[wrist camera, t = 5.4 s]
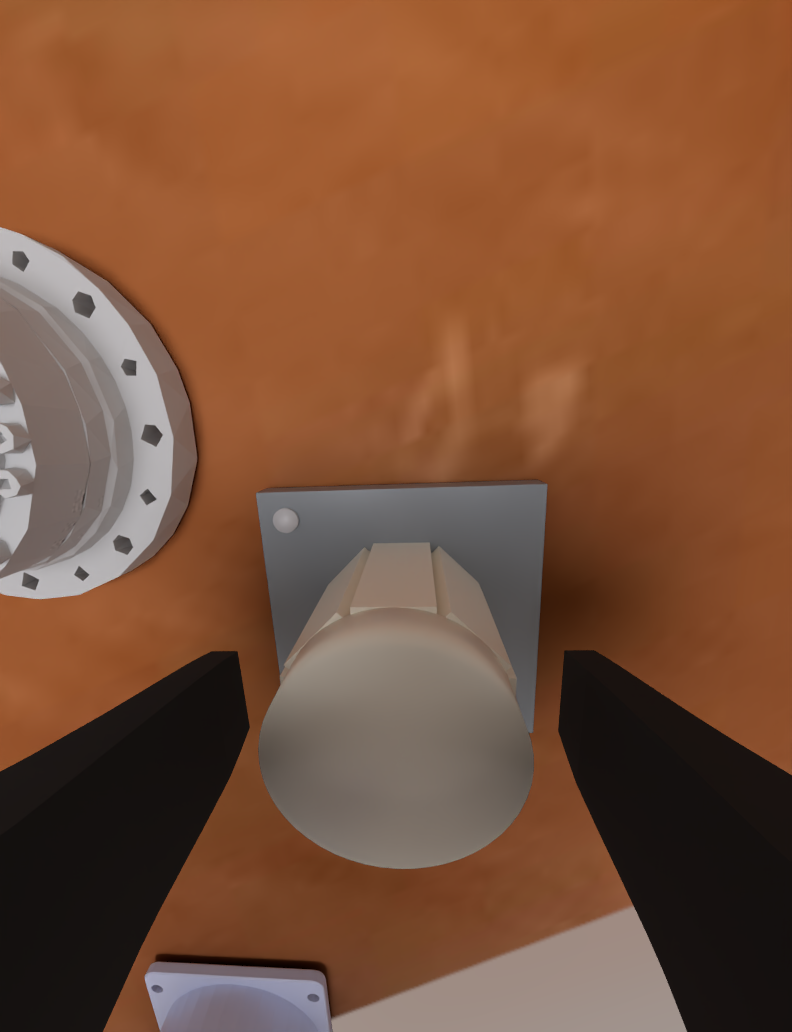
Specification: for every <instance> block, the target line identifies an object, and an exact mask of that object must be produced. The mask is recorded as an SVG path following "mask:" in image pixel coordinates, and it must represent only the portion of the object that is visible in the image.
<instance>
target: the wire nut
mask: <svg viewBox="0 0 792 1032" xmlns="http://www.w3.org/2000/svg"><path fill="white" fill-rule="evenodd" d="M284 666H285V668H284V670H283V671H282V673H281V675H280V684H281V685H280V687H279V689H278V691H277V693H276V695H275V697H274V699H273V701H272V703H271V704H270V706H269V709H268V711H267V713H266V715H265V718H264V720H263V723H262V727H261V731H260V736H259V747H258V752H259V764H260V769H261V773H262V777H263V780H264V783H265V785H266V788H267V790H268V793H269V794H270V796H271V798H272V800H273V801H274V803H275V805H276V806H277V808H278V809H279V810H280V812H281V813H282V814H283V816H284V817H285V818H286V819H287V820H288V821H289V822H290V823H291V824H292V825H293V826H294V827H295V828H296V829H297V830H298V831H299V832H301V833H302V834H303V835H304V836H305V837H307V838H308V839H310V840H311V841H313V842H314V843H316V844H317V845H319V846H320V847H322V848H324V849H326V850H328V851H330V852H332V853H334V854H336V855H339V856H341V857H344V858H346V859H349V860H352V861H355V862H359V863H362V864H366V865H371V866H377V867H383V868H394V869H416V868H425V867H433V866H437V865H442V864H447V863H450V862H453V861H456V860H459V859H462V858H464V857H466V856H468V855H471V854H473V853H475V852H477V851H479V850H480V849H482V848H483V847H485V846H487V845H488V844H490V843H491V842H492V841H494V840H495V839H496V838H497V837H499V836H500V835H501V834H502V833H503V832H504V831H505V830H506V829H507V828H508V827H509V826H510V825H511V824H512V822H513V821H514V820H515V818H516V817H517V816H518V814H519V813H520V811H521V809H522V807H523V805H524V803H525V801H526V800H527V797H528V794H529V791H530V788H531V785H532V778H533V772H534V754H533V749H532V743H531V739H530V736H529V733H528V730H527V727H526V724H525V722H524V719H523V716H522V713H521V711H520V708H519V705H518V702H517V700H516V682H517V678H516V675H515V673H514V670H513V668H512V665H511V663H510V660H509V658H508V655H507V653H506V650H505V648H504V645H503V642H502V640H501V637H500V635H499V632H498V630H497V627H496V625H495V622H494V620H493V617H492V615H491V612H490V609H489V607H488V604H487V602H486V599H485V597H484V594H483V592H482V590H481V587H480V585H479V583H478V582H477V581H476V580H475V579H474V578H473V577H472V576H471V575H470V574H469V573H468V572H467V571H466V570H464V569H463V568H462V567H461V566H460V565H459V564H458V563H457V562H456V561H455V560H454V559H453V558H451V557H450V556H449V555H448V554H447V553H446V552H445V551H444V550H443V549H442V548H441V547H440V546H438V547H437V548H436V549H435V550H434V551H433V552H432V553H431V550H430V542H427V543H373V546H372V549H371V551H368V550H367V549H366V548H365V547H364V548H363V549H362V550H361V551H360V552H359V553H358V554H357V555H356V556H355V557H354V558H353V559H352V560H351V561H350V562H349V564H348V565H347V566H346V567H345V568H344V569H343V570H342V571H341V572H340V573H339V574H338V575H337V576H336V577H335V578H334V579H333V580H332V581H331V582H330V583H329V584H328V586H327V588H326V590H325V591H324V593H323V595H322V597H321V599H320V600H319V602H318V604H317V606H316V608H315V609H314V611H313V613H312V615H311V617H310V618H309V620H308V622H307V624H306V626H305V627H304V629H303V631H302V633H301V635H300V636H299V638H298V640H297V642H296V644H295V645H294V647H293V649H292V651H291V653H290V654H289V656H288V658H287V660H286V662H285V663H284Z"/></svg>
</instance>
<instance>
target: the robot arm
mask: <svg viewBox="0 0 792 1032" xmlns="http://www.w3.org/2000/svg"><path fill="white" fill-rule="evenodd" d="M249 728H250V726H249V720H248V714H247V708H246V701H245V695H244V689H243V683H242V676H241V670H240V664H239V658H238V652H237V651H212V652H210V653H208V654H205V655H203V656H201V657H200V658H198V659H196V660H194V661H192V662H191V663H189V664H187V665H185V666H184V667H182V668H180V669H178V670H177V671H175V672H173V673H172V674H170V675H168V676H167V677H165V678H163V679H162V680H160V681H158V682H157V683H155V684H153V685H152V686H150V687H148V688H147V689H145V690H143V691H142V692H140V693H138V694H137V695H135V696H133V697H132V698H130V699H128V700H127V701H125V702H123V703H122V704H120V705H118V706H117V707H115V708H113V709H112V710H110V711H108V712H107V713H105V714H103V715H101V716H100V717H98V718H96V719H94V720H93V721H91V722H89V723H87V724H86V725H84V726H82V727H80V728H79V729H77V730H75V731H73V732H71V733H70V734H68V735H66V736H64V737H63V738H61V739H59V740H57V741H56V742H54V743H52V744H50V745H49V746H47V747H45V748H43V749H41V750H40V751H38V752H36V753H34V754H33V755H31V756H29V757H27V758H25V759H23V760H21V761H20V762H18V763H16V764H14V765H12V766H10V767H8V768H6V769H5V770H3V771H1V772H0V1032H103V1030H104V1028H105V1026H106V1024H107V1021H108V1019H109V1017H110V1015H111V1012H112V1010H113V1008H114V1006H115V1004H116V1001H117V999H118V997H119V995H120V992H121V990H122V988H123V986H124V983H125V981H126V979H127V977H128V975H129V972H130V970H131V968H132V966H133V963H134V961H135V959H136V957H137V955H138V952H139V950H140V948H141V946H142V944H143V942H144V940H145V938H146V936H147V934H148V932H149V930H150V928H151V926H152V924H153V922H154V920H155V918H156V916H157V914H158V912H159V910H160V908H161V906H162V904H163V903H164V901H165V899H166V897H167V895H168V893H169V891H170V890H171V888H172V886H173V884H174V882H175V880H176V878H177V876H178V875H179V873H180V871H181V869H182V867H183V865H184V863H185V861H186V860H187V858H188V856H189V854H190V852H191V850H192V848H193V846H194V845H195V843H196V841H197V839H198V837H199V835H200V833H201V832H202V830H203V828H204V826H205V824H206V822H207V820H208V818H209V816H210V815H211V813H212V811H213V809H214V807H215V805H216V803H217V801H218V799H219V797H220V796H221V794H222V792H223V790H224V788H225V786H226V784H227V782H228V780H229V778H230V776H231V774H232V771H233V769H234V766H235V764H236V761H237V759H238V757H239V754H240V752H241V749H242V746H243V744H244V741H245V738H246V736H247V733H248V731H249ZM558 731H559V734H560V737H561V740H562V743H563V746H564V749H565V752H566V755H567V758H568V761H569V764H570V767H571V770H572V772H573V775H574V778H575V781H576V783H577V786H578V788H579V790H580V792H581V794H582V797H583V799H584V801H585V803H586V805H587V807H588V810H589V812H590V814H591V816H592V818H593V820H594V823H595V825H596V827H597V829H598V831H599V833H600V835H601V838H602V840H603V842H604V844H605V846H606V848H607V850H608V852H609V854H610V857H611V859H612V861H613V863H614V865H615V867H616V869H617V871H618V874H619V876H620V878H621V880H622V882H623V884H624V886H625V888H626V891H627V893H628V895H629V897H630V899H631V901H632V903H633V905H634V907H635V910H636V911H637V914H638V916H639V918H640V920H641V922H642V924H643V927H644V929H645V931H646V933H647V935H648V937H649V940H650V942H651V944H652V947H653V949H654V951H655V953H656V956H657V958H658V960H659V962H660V965H661V967H662V969H663V972H664V974H665V976H666V979H667V981H668V984H669V986H670V989H671V991H672V994H673V996H674V999H675V1001H676V1004H677V1007H678V1009H679V1012H680V1014H681V1017H682V1019H683V1022H684V1024H685V1027H686V1030H687V1032H792V775H790V774H789V773H787V772H785V771H784V770H782V769H780V768H779V767H777V766H775V765H774V764H772V763H770V762H769V761H767V760H765V759H764V758H762V757H760V756H759V755H757V754H755V753H754V752H752V751H750V750H749V749H747V748H745V747H744V746H742V745H740V744H739V743H737V742H736V741H734V740H732V739H731V738H729V737H728V736H726V735H724V734H723V733H721V732H720V731H718V730H716V729H715V728H713V727H712V726H710V725H708V724H707V723H705V722H704V721H702V720H701V719H699V718H697V717H696V716H694V715H693V714H691V713H690V712H688V711H687V710H685V709H684V708H682V707H681V706H679V705H677V704H676V703H674V702H673V701H671V700H670V699H668V698H667V697H665V696H664V695H662V694H661V693H659V692H658V691H656V690H655V689H653V688H652V687H650V686H649V685H647V684H646V683H644V682H643V681H641V680H640V679H638V678H637V677H635V676H634V675H632V674H631V673H629V672H628V671H626V670H625V669H623V668H622V667H620V666H619V665H617V664H615V663H614V662H612V661H611V660H609V659H608V658H606V657H604V656H603V655H601V654H599V653H598V652H596V651H594V650H574V651H564V663H563V676H562V689H561V702H560V715H559V728H558ZM145 982H146V985H147V989H148V992H149V995H150V999H151V1002H152V1005H153V1009H154V1012H155V1015H156V1019H157V1022H158V1025H159V1029H160V1032H332V1024H331V1016H330V1008H329V1000H328V992H327V984H326V978H325V976H324V974H323V973H322V972H320V971H318V970H312V969H293V968H274V967H255V966H236V965H217V964H198V963H178V962H154V963H152V964H151V965H150V967H149V969H148V971H147V973H146V975H145Z"/></svg>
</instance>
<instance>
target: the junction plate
mask: <svg viewBox="0 0 792 1032" xmlns="http://www.w3.org/2000/svg"><path fill="white" fill-rule="evenodd" d="M256 498H257V505H258V513H259V521H260V528H261V536H262V543H263V551H264V558H265V566H266V573H267V581H268V589H269V596H270V604H271V611H272V619H273V626H274V634H275V641H276V649H277V657H278V664H279V672H280V675H281V673H282V671H283V670H284V668H285V666H284V663H285V662H286V660H287V658H288V656H289V654H290V653H291V651H292V649H293V647H294V645H295V644H296V642H297V640H298V638H299V636H300V635H301V633H302V631H303V629H304V627H305V626H306V624H307V622H308V620H309V618H310V617H311V615H312V613H313V611H314V609H315V608H316V606H317V604H318V602H319V600H320V599H321V597H322V595H323V593H324V591H325V590H326V588H327V586H328V584H329V583H330V582H331V581H332V580H333V579H334V578H335V577H336V576H337V575H338V574H339V573H340V572H341V571H342V570H343V569H344V568H345V567H346V566H347V565H348V564H349V562H350V561H351V560H352V559H353V558H354V557H355V556H356V555H357V554H358V553H359V552H360V551H361V550H362V549H363V548H364V547H365V548H366V549H367V550H368V551H371V549H372V546H373V543H427V542H430V550H431V553H432V552H433V551H434V550H435V549H436V548H437V547H438V546H440V547H441V548H442V549H443V550H444V551H445V552H446V553H447V554H448V555H449V556H450V557H451V558H453V559H454V560H455V561H456V562H457V563H458V564H459V565H460V566H461V567H462V568H463V569H464V570H466V571H467V572H468V573H469V574H470V575H471V576H472V577H473V578H474V579H475V580H476V581H477V582H478V583H479V585H480V587H481V590H482V592H483V594H484V597H485V599H486V602H487V604H488V607H489V609H490V612H491V615H492V617H493V620H494V622H495V625H496V627H497V630H498V632H499V635H500V637H501V640H502V642H503V645H504V648H505V650H506V653H507V655H508V658H509V660H510V663H511V665H512V668H513V670H514V673H515V675H516V678H517V682H516V700H517V702H518V705H519V708H520V711H521V713H522V716H523V719H524V722H525V724H526V727H527V730H528V733H533V723H534V706H535V689H536V672H537V655H538V637H539V620H540V603H541V586H542V569H543V551H544V534H545V517H546V500H547V484H546V483H544V482H542V481H540V480H513V481H481V482H449V483H417V484H385V485H353V486H321V487H289V488H266V489H264V490H262V491H259V492H257V493H256Z"/></svg>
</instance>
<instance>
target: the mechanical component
mask: <svg viewBox="0 0 792 1032" xmlns="http://www.w3.org/2000/svg"><path fill="white" fill-rule="evenodd" d="M196 464H197V451H196V444H195V437H194V430H193V423H192V415H191V408H190V402H189V400H188V397H187V394H186V391H185V388H184V386H183V383H182V380H181V377H180V375H179V372H178V369H177V367H176V366H175V364H174V362H173V361H172V359H171V357H170V356H169V354H168V352H167V351H166V349H165V347H164V346H163V344H162V342H161V341H160V339H159V337H158V336H157V334H156V332H155V331H154V329H153V327H152V326H151V324H150V323H149V322H148V321H147V320H146V319H145V318H144V317H143V316H142V315H141V314H140V313H139V312H138V311H137V310H136V309H135V308H134V307H133V306H132V305H131V304H130V303H129V302H128V301H127V300H126V299H125V298H124V297H123V296H122V295H121V294H120V293H119V292H118V291H117V290H116V289H115V288H114V287H113V286H112V285H111V284H110V283H109V282H108V281H106V280H105V279H103V278H101V277H100V276H98V275H96V274H95V273H93V272H92V271H90V270H88V269H87V268H85V267H83V266H82V265H80V264H79V263H77V262H75V261H74V260H72V259H70V258H69V257H67V256H65V255H64V254H62V253H61V252H59V251H57V250H55V249H53V248H51V247H49V246H46V245H44V244H42V243H40V242H38V241H35V240H33V239H31V238H29V237H27V236H24V235H22V234H19V233H16V232H13V231H10V230H7V229H4V228H1V227H0V593H1V594H5V595H9V596H17V597H26V598H35V599H46V598H56V597H65V596H74V595H80V594H82V593H84V592H86V591H89V590H91V589H93V588H95V587H97V586H100V585H102V584H104V583H106V582H108V581H110V580H113V579H115V578H117V577H119V576H121V575H123V574H126V573H128V572H130V571H132V570H133V569H135V568H136V567H138V566H139V565H141V564H142V563H144V562H145V561H147V560H148V559H150V558H151V557H153V556H154V555H155V554H156V553H157V552H158V551H159V550H160V548H161V547H162V546H163V545H164V544H165V543H166V542H167V541H168V540H169V538H170V537H171V536H172V535H173V534H174V532H175V530H176V528H177V526H178V524H179V522H180V520H181V518H182V516H183V514H184V512H185V510H186V508H187V506H188V503H189V498H190V493H191V488H192V483H193V478H194V473H195V469H196Z"/></svg>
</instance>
